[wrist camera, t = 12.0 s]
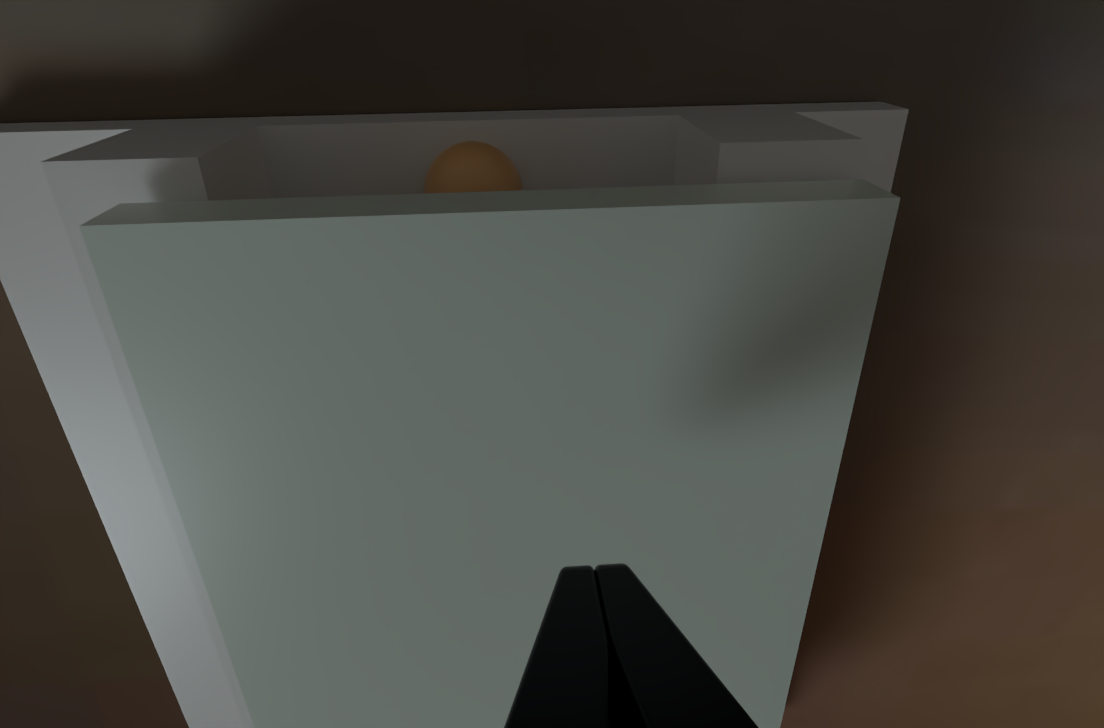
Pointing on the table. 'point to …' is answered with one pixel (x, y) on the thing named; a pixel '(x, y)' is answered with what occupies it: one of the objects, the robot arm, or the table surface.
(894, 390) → the table surface
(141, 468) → the base
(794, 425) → the duct cover
